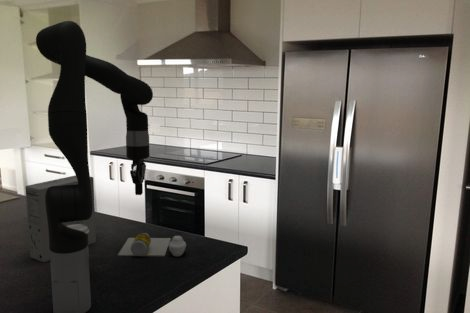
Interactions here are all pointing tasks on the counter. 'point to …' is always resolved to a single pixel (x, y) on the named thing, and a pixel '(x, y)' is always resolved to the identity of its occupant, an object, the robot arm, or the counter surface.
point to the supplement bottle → (140, 244)
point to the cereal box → (39, 217)
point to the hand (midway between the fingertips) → (139, 194)
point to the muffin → (177, 246)
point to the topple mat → (154, 249)
